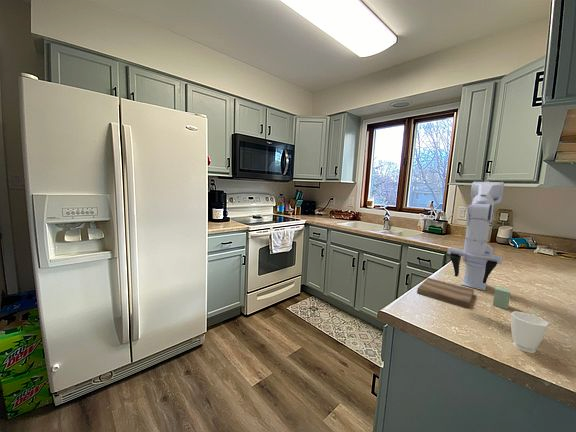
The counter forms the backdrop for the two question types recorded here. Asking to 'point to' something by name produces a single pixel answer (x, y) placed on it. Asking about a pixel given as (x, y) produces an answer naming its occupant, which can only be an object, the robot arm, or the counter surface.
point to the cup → (527, 331)
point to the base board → (446, 292)
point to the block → (501, 297)
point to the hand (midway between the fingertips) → (470, 279)
